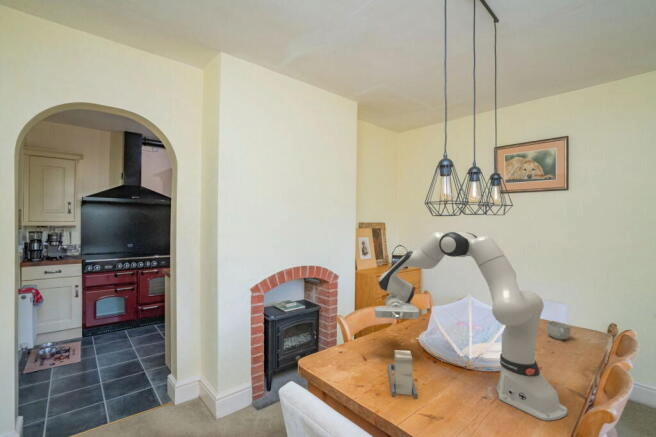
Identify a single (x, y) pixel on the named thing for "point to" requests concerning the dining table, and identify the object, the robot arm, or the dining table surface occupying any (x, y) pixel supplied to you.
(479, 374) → the dining table surface
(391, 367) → the chute
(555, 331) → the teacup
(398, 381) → the cream block
